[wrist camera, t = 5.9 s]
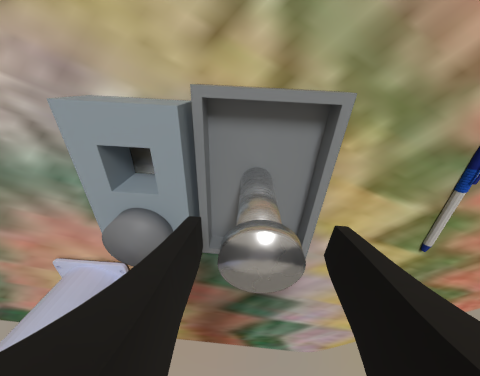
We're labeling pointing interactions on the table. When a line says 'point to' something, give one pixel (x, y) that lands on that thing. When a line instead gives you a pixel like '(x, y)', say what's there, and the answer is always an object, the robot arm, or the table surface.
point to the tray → (265, 151)
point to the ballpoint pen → (454, 200)
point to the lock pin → (260, 241)
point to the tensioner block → (132, 167)
